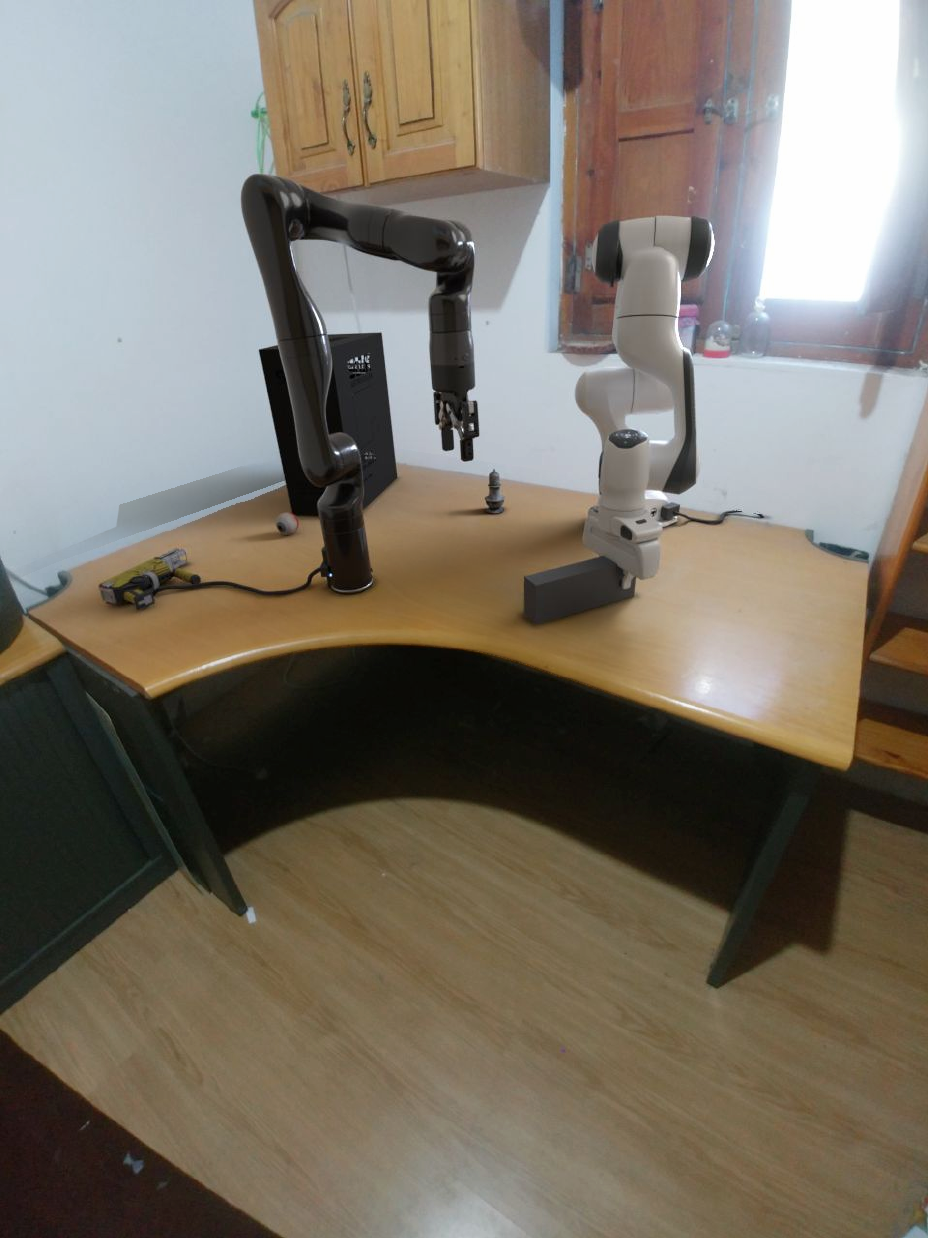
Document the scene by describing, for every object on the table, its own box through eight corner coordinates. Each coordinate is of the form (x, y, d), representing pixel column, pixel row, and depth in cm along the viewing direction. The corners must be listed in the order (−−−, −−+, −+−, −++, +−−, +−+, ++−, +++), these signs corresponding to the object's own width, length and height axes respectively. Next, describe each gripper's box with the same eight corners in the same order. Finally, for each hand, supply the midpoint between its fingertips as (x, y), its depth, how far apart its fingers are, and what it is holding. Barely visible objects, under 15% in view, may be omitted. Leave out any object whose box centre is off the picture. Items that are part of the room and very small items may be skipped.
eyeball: (273, 537, 164) (268, 516, 161) (287, 528, 169) (282, 508, 166) (291, 539, 161) (286, 518, 158) (305, 530, 166) (301, 510, 163)
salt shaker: (503, 513, 170) (502, 471, 164) (483, 513, 171) (481, 471, 165) (506, 506, 175) (506, 465, 169) (486, 506, 176) (485, 465, 170)
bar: (620, 587, 128) (623, 550, 124) (634, 596, 125) (638, 558, 120) (523, 614, 120) (523, 576, 116) (535, 625, 117) (535, 585, 112)
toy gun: (224, 556, 146) (173, 545, 150) (148, 597, 126) (92, 584, 130) (226, 573, 148) (177, 563, 152) (152, 617, 128) (97, 603, 132)
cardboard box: (355, 516, 174) (330, 347, 152) (292, 514, 179) (258, 349, 156) (397, 477, 206) (381, 332, 183) (342, 476, 210) (320, 334, 188)
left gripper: (416, 358, 107) (424, 450, 115) (448, 366, 95) (454, 468, 104) (455, 354, 109) (460, 444, 117) (490, 361, 98) (493, 460, 106)
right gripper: (576, 505, 124) (574, 566, 131) (641, 538, 108) (634, 605, 115) (602, 499, 126) (598, 560, 133) (669, 531, 110) (661, 598, 117)
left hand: (457, 455), depth 110 cm, fingers open, 8 cm apart
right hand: (615, 581), depth 124 cm, fingers closed on bar, 4 cm apart
